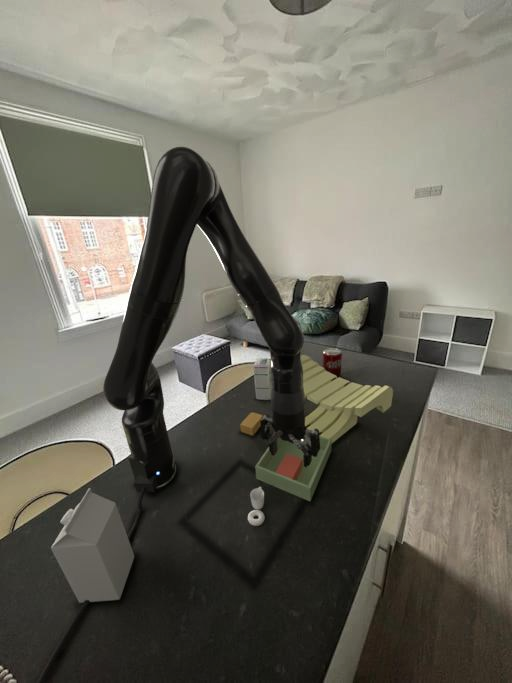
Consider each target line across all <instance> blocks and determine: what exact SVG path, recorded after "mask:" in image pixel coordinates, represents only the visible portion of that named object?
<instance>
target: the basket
mask: <svg viewBox="0 0 512 683" xmlns="http://www.w3.org/2000/svg"><path fill="white" fill-rule="evenodd" d="M306 437H307V438H308V436H307V435H306ZM319 438H320V450H319V452H318V454H317V456H316V457H314V456H312V461H311V463H310V465H309V466H307V468H306V467H304V462H303V455H304V453H303V452H302V451H301V449H298V448H297V446H296V445H295V443H294V444H293V443H290V442H288V441H284V440H282V439H281V438H280V437H279V438H278V439H277V452H276V454H275V455H274V456H273V455H271V452H270V451H269V446H268V447H267V449H266V450H265V452H263V454H262V455H261V457H260V459H259V460H258V462H257V463H256V464H255V466H254V470H255V479H256V480H259V481H261V482H263V483H265V484H267V485H270V486H272V487H275V488H277V489H279V490H282V491H284V492H286V493H288V494H291V495H294V496H295V497H298V498H301V499H303V500H304V501H305V500H306V501H308V502H311V501H312V498H313V496H314V494H315V491H316V489H317V487H318V484H319V482H320V479H321V477H322V474H323V472H324V469H325V467H326V465H327V462H328V460H329V458H330V455H331V452H332V444H331V442H332V440H331V439H328V438H325V437H321V436H319ZM299 441H300V442H301V439H300V440H299ZM308 442H309V443H310V444H311V441H309V438H308ZM305 447H306V446H305ZM286 454H290V455H293V456H295V457H298V458H301V459H302V463H303V468H302V470H301V472H300V474H299V476H298V478H297V480H293V479H290V478H288V477H285V476H283V475H280V474H278V473H275V472H276V471H277V469H278V467H279V466H280V464H281V462H282V460H283V459H284V457H285V455H286Z"/></svg>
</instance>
